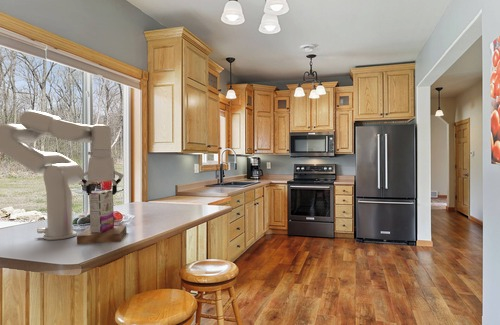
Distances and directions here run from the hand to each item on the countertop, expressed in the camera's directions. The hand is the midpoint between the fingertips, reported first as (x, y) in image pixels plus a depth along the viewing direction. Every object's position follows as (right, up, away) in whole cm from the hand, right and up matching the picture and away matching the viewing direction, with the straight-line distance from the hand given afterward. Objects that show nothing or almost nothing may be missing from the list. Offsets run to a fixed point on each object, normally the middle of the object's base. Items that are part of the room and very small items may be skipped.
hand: (101, 194), depth 141 cm
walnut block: (0, -19, 0) cm, 19 cm away
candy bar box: (0, -15, +1) cm, 15 cm away
